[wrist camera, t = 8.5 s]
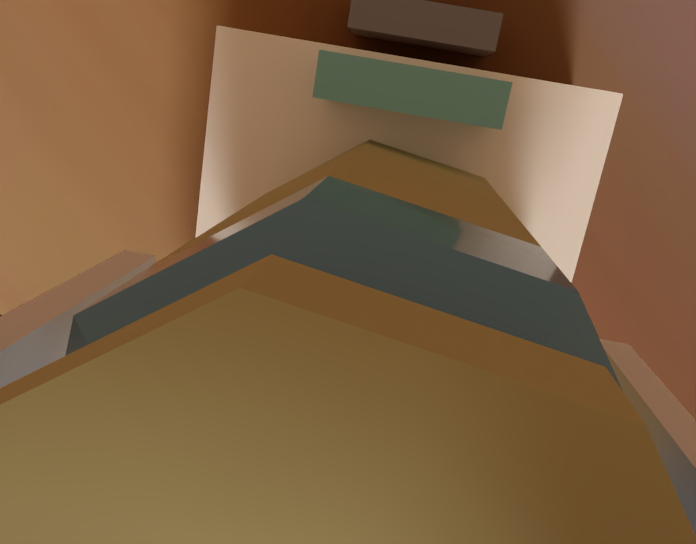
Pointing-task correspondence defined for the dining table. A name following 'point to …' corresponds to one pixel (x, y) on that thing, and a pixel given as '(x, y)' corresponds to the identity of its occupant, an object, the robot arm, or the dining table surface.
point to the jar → (338, 385)
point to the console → (404, 117)
